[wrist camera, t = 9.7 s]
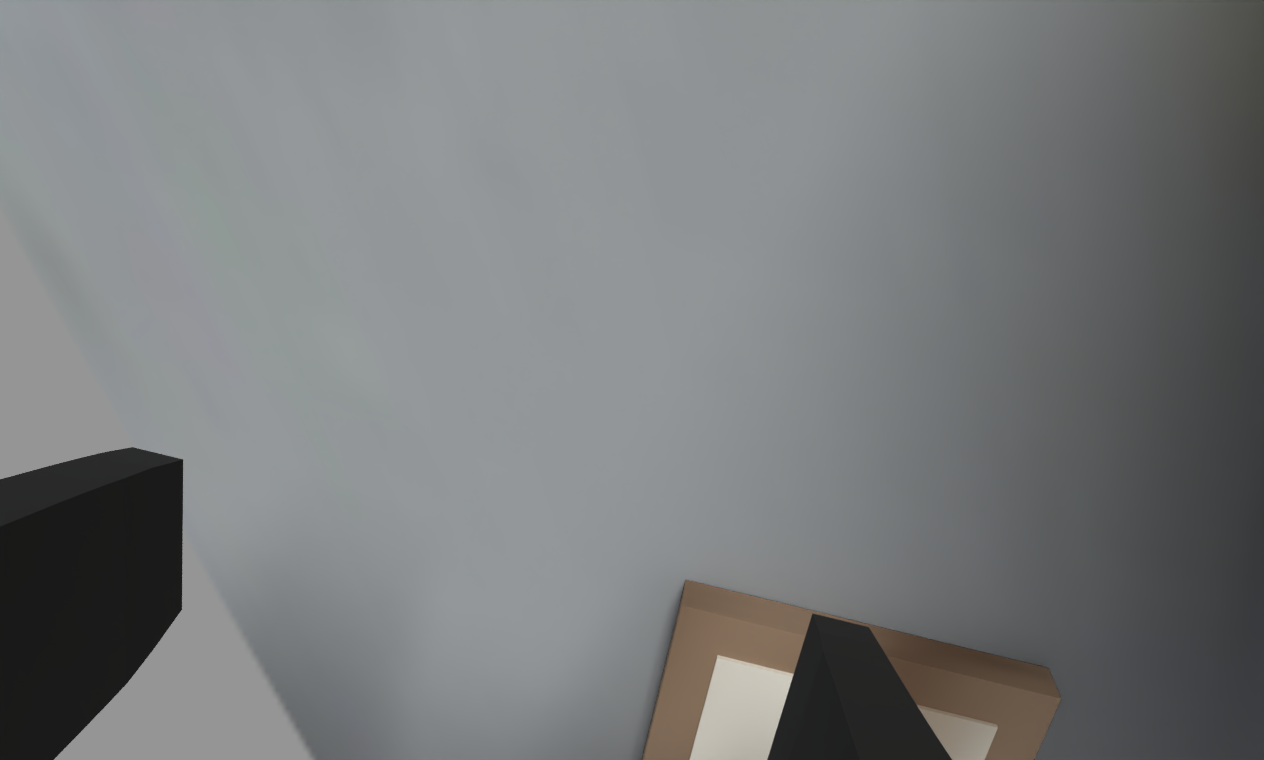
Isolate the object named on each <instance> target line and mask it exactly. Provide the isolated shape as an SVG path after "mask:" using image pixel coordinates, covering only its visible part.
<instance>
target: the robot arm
mask: <svg viewBox="0 0 1264 760" xmlns="http://www.w3.org/2000/svg"><path fill="white" fill-rule="evenodd" d="M182 520H183V460H182V459H178V458H174V457H170V456H166V455H162V454H158V453H154V452H150V451H146V450H141V449H137V448H133V447H132V448H127V449H121V450H115V451H109V452H105V453H100V454H96V455H91V456H87V457H83V458H79V459H75V460H71V461H67V462H63V463H59V464H56V465H52V466H48V467H44V468H41V469H37V470H33V471H30V472H26V473H22V474H19V475H15V476H11V477H8V478H4V479H0V760H54V759H55V757H57V756H58V754H59V753H60V752H61V751H62V750H63V749H64V748H65V747H66V746H67V745H68V744H69V743H70V742H71V741H72V740H73V739H74V738H75V737H76V736H77V735H78V734H79V733H80V732H81V731H82V730H83V729H84V728H85V727H86V726H87V725H88V724H89V723H90V722H91V720H92V719H93V718H94V717H95V716H96V715H97V714H98V713H99V712H100V711H101V710H102V709H103V708H104V707H105V706H106V705H107V704H108V703H109V702H110V701H111V700H112V698H113V697H114V696H115V695H116V694H117V693H118V692H119V691H120V690H121V689H122V688H123V687H124V686H125V685H126V683H128V681H129V680H130V679H131V677H132V676H133V675H134V674H135V672H136V671H137V670H138V668H139V667H140V666H141V665H142V663H143V662H144V661H145V659H146V658H147V657H148V655H149V654H150V653H151V652H152V650H153V649H154V648H155V646H156V645H157V643H158V642H159V641H160V639H161V638H162V636H163V635H164V634H165V632H166V631H167V629H168V628H169V626H170V625H171V624H172V622H173V621H174V620H175V618H176V617H177V615H178V614H179V613H180V611H181V610H182ZM767 760H952V759H951V757H950V756H949V754H948V753H947V751H946V750H945V748H944V747H943V745H942V744H941V742H940V741H939V739H938V738H937V736H936V735H935V733H934V732H933V730H932V728H931V727H930V725H929V724H928V722H927V721H926V719H925V717H924V716H923V714H922V713H921V711H920V709H919V708H918V706H917V705H916V703H915V701H914V700H913V698H912V697H911V695H910V693H909V692H908V690H907V688H906V687H905V685H904V684H903V682H902V680H901V679H900V677H899V675H898V674H897V672H896V670H895V669H894V667H893V666H892V664H891V662H890V661H889V659H888V657H887V656H886V654H885V652H884V651H883V649H882V648H881V646H880V644H879V643H878V641H877V639H876V638H875V636H874V635H873V633H872V631H871V630H870V628H869V627H866V626H862V625H858V624H854V623H850V622H846V621H842V620H838V619H834V618H830V617H825V616H821V615H817V614H813V613H812V617H811V620H810V623H809V626H808V629H807V633H806V636H805V639H804V642H803V646H802V649H801V652H800V655H799V659H798V662H797V665H796V668H795V672H794V675H793V678H792V681H791V684H790V688H789V691H788V694H787V697H786V701H785V704H784V707H783V710H782V714H781V717H780V720H779V723H778V727H777V730H776V733H775V736H774V739H773V743H772V746H771V749H770V752H769V756H768V759H767Z"/></svg>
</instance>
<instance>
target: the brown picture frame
mask: <svg viewBox="0 0 1264 760" xmlns="http://www.w3.org/2000/svg"><path fill="white" fill-rule="evenodd" d="M812 613H813V614H817V615H821V616H825V617H830V618H834V619H838V620H842V621H846V622H850V623H854V624H858V625H862V626H866V627H869V628H870V630H871V631H872V633H873V635H874V636H875V638H876V639H877V641H878V643H879V644H880V646H881V648H882V649H883V651H884V652H885V654H886V656H887V657H888V659H889V661H890V662H891V664H892V666H893V667H894V669H895V670H896V672H897V674H898V675H899V677H900V679H901V680H902V682H903V684H904V685H905V687H906V688H907V690H908V692H909V693H910V695H911V697H912V698H913V700H914V701H915V703H916V705H917V706H918V708H919V709H920V711H921V713H922V714H923V716H924V717H925V719H926V721H927V722H928V724H929V725H930V727H931V728H932V730H933V732H934V733H935V735H936V736H937V738H938V739H939V741H940V742H941V744H942V745H943V747H944V748H945V750H946V751H947V753H948V754H949V756H950V757H951V759H952V760H1034V759H1035V757H1036V755H1037V752H1038V750H1039V748H1040V746H1041V743H1042V741H1043V739H1044V737H1045V734H1046V732H1047V730H1048V728H1049V726H1050V723H1051V721H1052V719H1053V717H1054V714H1055V712H1056V710H1057V708H1058V705H1059V703H1060V701H1061V697H1060V694H1059V692H1058V690H1057V687H1056V685H1055V682H1054V680H1053V678H1052V675H1051V673H1050V670H1049V668H1046V667H1041V666H1037V665H1033V664H1029V663H1025V662H1021V661H1017V660H1013V659H1009V658H1005V657H1000V656H996V655H992V654H988V653H984V652H980V651H976V650H972V649H968V648H964V647H959V646H955V645H951V644H947V643H943V642H939V641H935V640H931V639H927V638H923V637H918V636H914V635H910V634H906V633H902V632H898V631H894V630H890V629H886V628H882V627H877V626H873V625H869V624H865V623H861V622H857V621H853V620H849V619H845V618H841V617H836V616H832V615H828V614H824V613H820V612H816V611H812V610H808V609H804V608H800V607H795V606H791V605H787V604H783V603H779V602H775V601H771V600H767V599H763V598H759V597H754V596H750V595H746V594H742V593H738V592H734V591H730V590H726V589H722V588H718V587H713V586H709V585H705V584H701V583H697V582H693V581H689V580H686V581H685V585H684V589H683V593H682V597H681V601H680V605H679V610H678V614H677V618H676V622H675V626H674V630H673V634H672V638H671V642H670V646H669V650H668V654H667V659H666V663H665V667H664V671H663V675H662V679H661V683H660V687H659V691H658V695H657V699H656V703H655V708H654V712H653V716H652V720H651V724H650V728H649V732H648V736H647V740H646V744H645V748H644V752H643V757H642V760H767V759H768V756H769V752H770V749H771V746H772V743H773V739H774V736H775V733H776V730H777V727H778V723H779V720H780V717H781V714H782V710H783V707H784V704H785V701H786V697H787V694H788V691H789V688H790V684H791V681H792V678H793V675H794V672H795V668H796V665H797V662H798V659H799V655H800V652H801V649H802V646H803V642H804V639H805V636H806V633H807V629H808V626H809V623H810V620H811V617H812Z"/></svg>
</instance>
